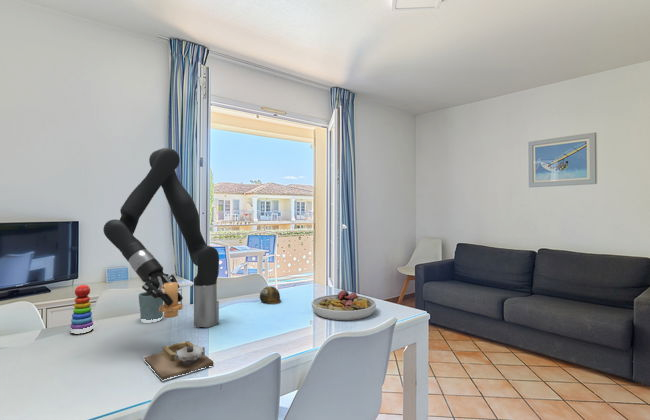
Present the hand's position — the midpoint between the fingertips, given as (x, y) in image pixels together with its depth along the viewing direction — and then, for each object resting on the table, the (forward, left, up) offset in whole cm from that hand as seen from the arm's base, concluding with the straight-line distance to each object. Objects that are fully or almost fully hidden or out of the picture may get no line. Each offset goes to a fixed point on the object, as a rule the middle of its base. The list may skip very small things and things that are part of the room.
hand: (175, 302), depth 120 cm
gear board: (+3, +10, -17) cm, 20 cm away
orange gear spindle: (+1, -2, -5) cm, 5 cm away
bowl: (-75, +5, -18) cm, 77 cm away
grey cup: (-4, -43, -17) cm, 47 cm away
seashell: (-59, -34, -17) cm, 71 cm away
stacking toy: (+21, -46, -17) cm, 53 cm away
